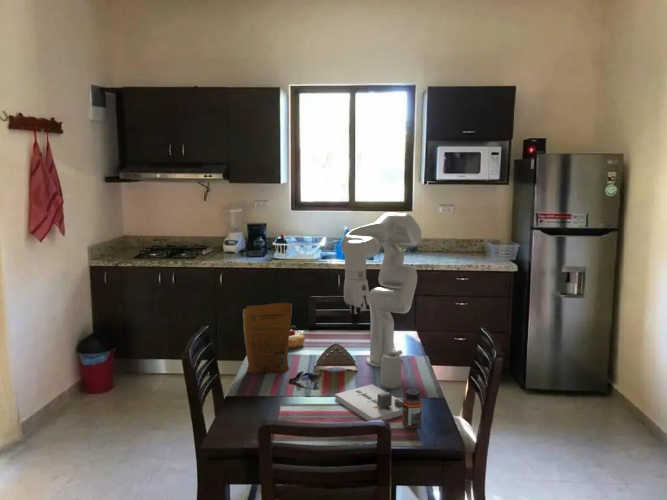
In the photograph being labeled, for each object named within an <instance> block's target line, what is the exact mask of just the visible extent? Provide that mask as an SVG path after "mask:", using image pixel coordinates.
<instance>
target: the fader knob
mask: <svg viewBox="0 0 667 500" xmlns="http://www.w3.org/2000/svg"><path fill="white" fill-rule="evenodd" d="M392 396H393V395H392V393H390V392H388V391H385V393H381V394H378V404H377V406H379V407H380V408H385V407H389V406H391V404H392Z"/></svg>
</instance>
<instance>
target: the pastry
mask: <svg viewBox="0 0 667 500" xmlns="http://www.w3.org/2000/svg"><path fill="white" fill-rule="evenodd" d="M293 327H294V328H295V329H297V327H296V326H295V325H292V326H291V328H290V334H289V340H288V350H294V349H295V350H296V349H298V348H299V349H300V348H301V347H303V345H304V343H305V339H306V336H305V335H304V333H302V332H299V331H296V330H294V329H293Z"/></svg>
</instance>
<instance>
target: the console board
mask: <svg viewBox="0 0 667 500" xmlns="http://www.w3.org/2000/svg"><path fill="white" fill-rule="evenodd" d="M385 392H386V391H385V390H383V389H381V388H379V387H378V386H376V385H374V384H368V385H364V386H359V387H356V388H353V389H349V390H345V391H341V392H339V393H335V394H334V395H335V396H334V397H335V399H334V400H335V401H337V402H338V403H340V404H341V405H343V406H345V407H346V408H348V409H349V410H351V411H353V412H354V413H355V414H357V415H358V416H360V417H361V416H362V417H361V418H363V419H364V418H365V419H364V420H366V421H367V420H368V422H369V421H371V420H385V421H387V420H386V419H388V420H391V419H394V418H397V417H400V416H403V398H398V397H395V396H394V395H392V404H391V406H389V407H385V408H380V407H379V406H377V404H378V394H381V393H385Z"/></svg>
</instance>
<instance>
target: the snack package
mask: <svg viewBox="0 0 667 500" xmlns="http://www.w3.org/2000/svg"><path fill="white" fill-rule="evenodd" d="M322 376H323V375H322V373H320V374H318V375H317V374H316V373H314V372H306V373H304V371H300V372H298V373H296V375H295V377H292V378H289V379H288V383H293V384H298V385H301V386H303V387H305V388H307V385H305V383H307V381H308V382H309V383H311V384H312V387H311V389H313V390H316V388H317V387H318V385H319V383H320V381H321V378H322ZM300 381H306V382H305V383H302V382H300ZM298 382H299V383H298ZM301 383H302V384H301ZM309 383H308V384H309ZM311 384H310V385H311Z"/></svg>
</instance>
